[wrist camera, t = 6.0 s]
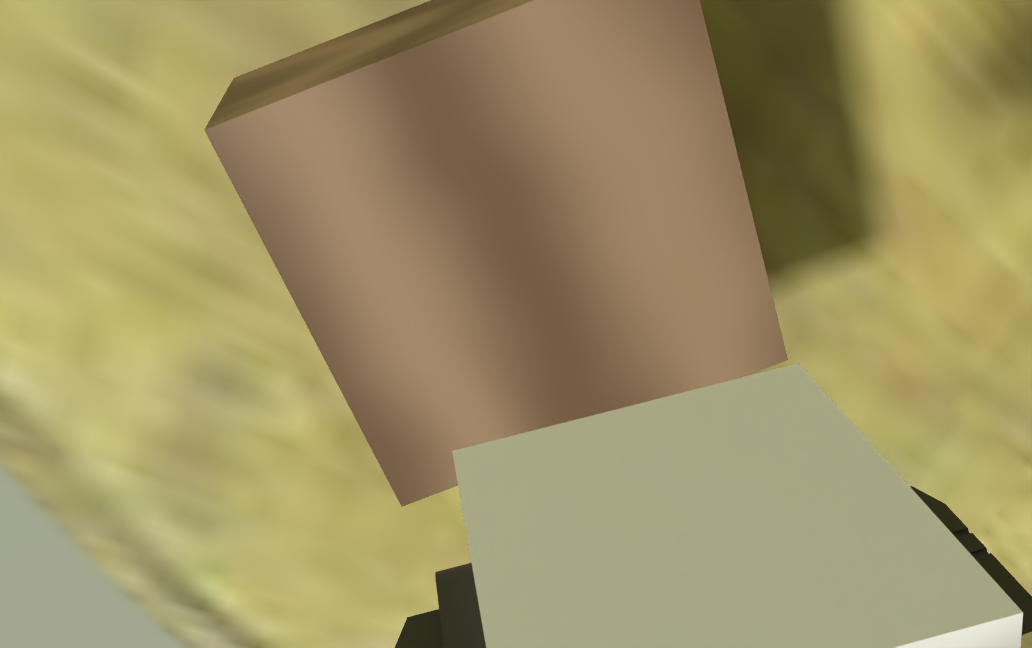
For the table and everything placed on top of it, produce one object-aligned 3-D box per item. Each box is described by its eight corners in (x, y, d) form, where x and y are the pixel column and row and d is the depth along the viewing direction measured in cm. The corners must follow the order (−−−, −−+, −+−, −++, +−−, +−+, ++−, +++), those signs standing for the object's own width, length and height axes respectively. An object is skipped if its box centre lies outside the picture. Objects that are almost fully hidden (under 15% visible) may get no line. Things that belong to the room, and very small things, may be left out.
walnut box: (622, -77, 27) (685, -60, 22) (718, 277, 33) (787, 359, 27) (234, 76, 28) (204, 129, 22) (395, 401, 33) (401, 506, 28)
